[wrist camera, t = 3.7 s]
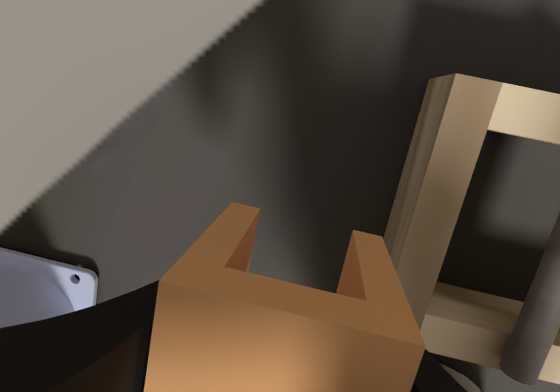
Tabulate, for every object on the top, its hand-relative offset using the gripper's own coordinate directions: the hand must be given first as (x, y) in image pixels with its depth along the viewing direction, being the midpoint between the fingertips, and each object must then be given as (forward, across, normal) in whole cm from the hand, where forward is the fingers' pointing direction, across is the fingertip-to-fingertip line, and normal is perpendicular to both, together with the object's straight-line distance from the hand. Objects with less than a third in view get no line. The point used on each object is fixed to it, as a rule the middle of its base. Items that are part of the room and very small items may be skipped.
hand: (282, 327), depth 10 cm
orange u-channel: (+2, 0, 0) cm, 2 cm away
